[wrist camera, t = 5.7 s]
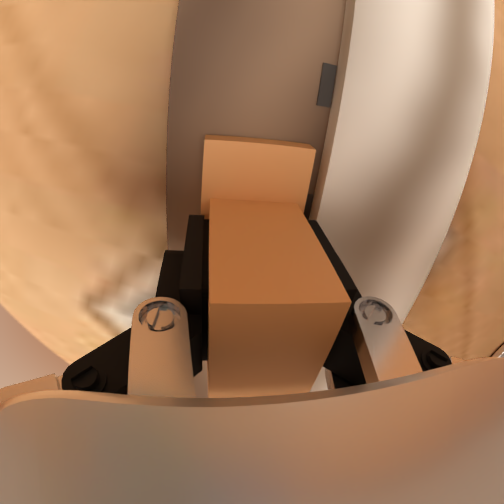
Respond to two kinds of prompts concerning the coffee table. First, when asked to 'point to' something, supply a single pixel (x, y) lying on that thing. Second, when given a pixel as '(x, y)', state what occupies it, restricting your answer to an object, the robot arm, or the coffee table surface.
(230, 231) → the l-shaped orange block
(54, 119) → the coffee table surface
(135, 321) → the robot arm
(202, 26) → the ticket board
